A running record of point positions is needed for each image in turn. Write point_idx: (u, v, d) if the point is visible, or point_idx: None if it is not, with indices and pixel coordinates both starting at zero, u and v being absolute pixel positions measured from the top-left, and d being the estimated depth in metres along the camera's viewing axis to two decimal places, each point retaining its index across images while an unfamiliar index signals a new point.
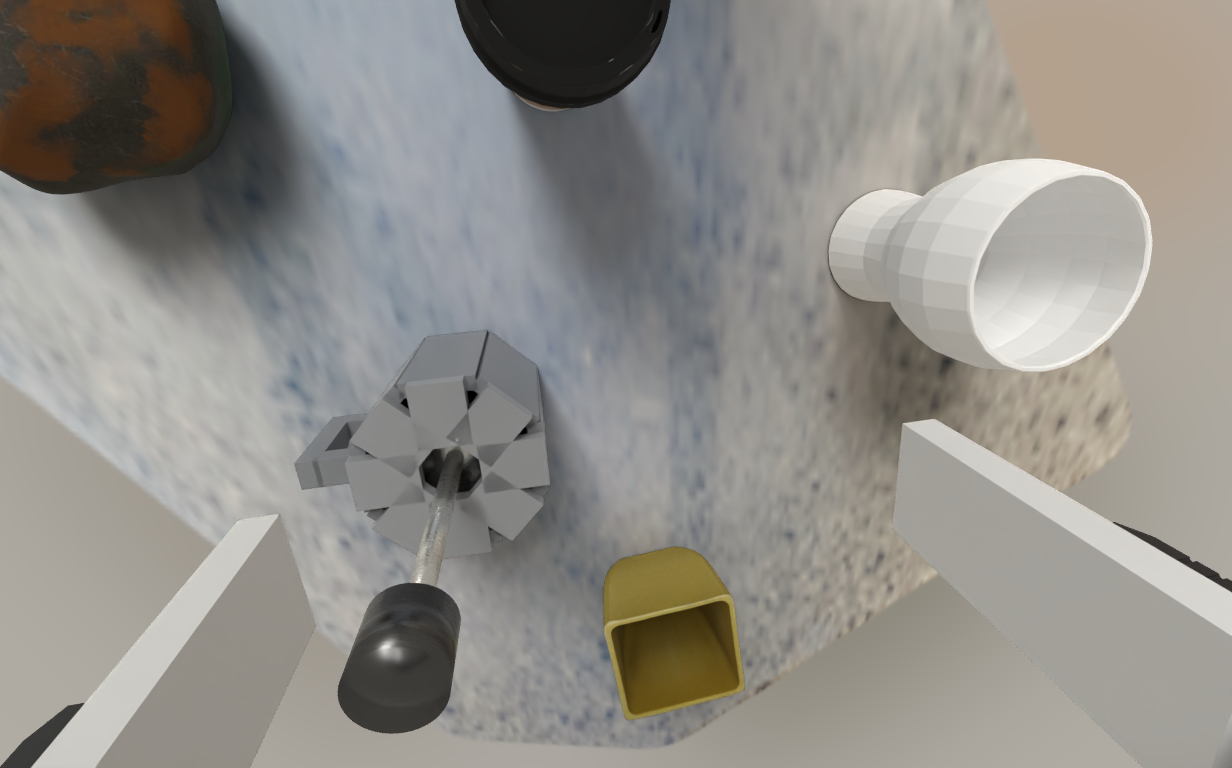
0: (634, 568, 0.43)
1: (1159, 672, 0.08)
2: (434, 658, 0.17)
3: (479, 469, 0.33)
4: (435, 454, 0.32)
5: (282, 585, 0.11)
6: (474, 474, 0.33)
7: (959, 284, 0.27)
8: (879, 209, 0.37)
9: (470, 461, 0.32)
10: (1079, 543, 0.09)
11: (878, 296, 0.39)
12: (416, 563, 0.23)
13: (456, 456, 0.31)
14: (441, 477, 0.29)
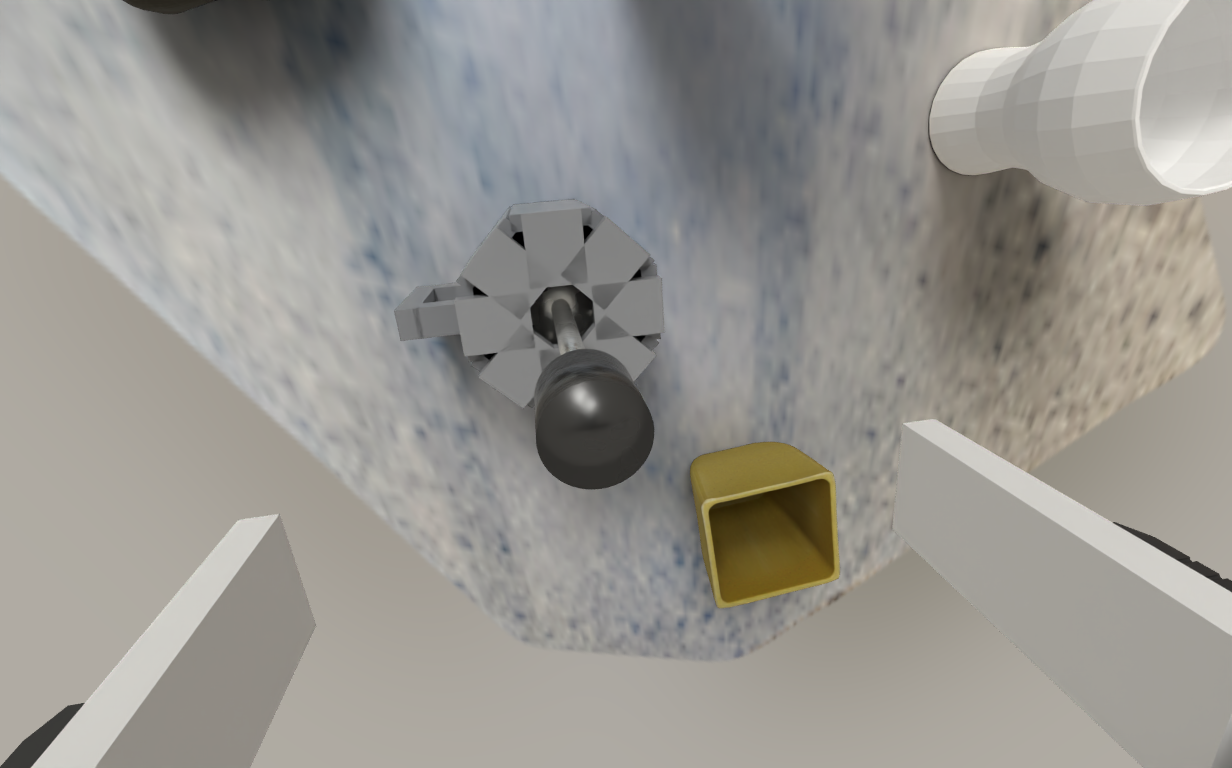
0: (720, 458, 0.42)
1: (1159, 672, 0.08)
2: (640, 397, 0.16)
3: (584, 322, 0.31)
4: (540, 304, 0.30)
5: (282, 585, 0.11)
6: (579, 328, 0.31)
7: (1123, 90, 0.25)
8: (993, 61, 0.35)
9: (576, 313, 0.31)
10: (1079, 543, 0.09)
11: (987, 160, 0.37)
12: None
13: (565, 303, 0.30)
14: (557, 314, 0.27)
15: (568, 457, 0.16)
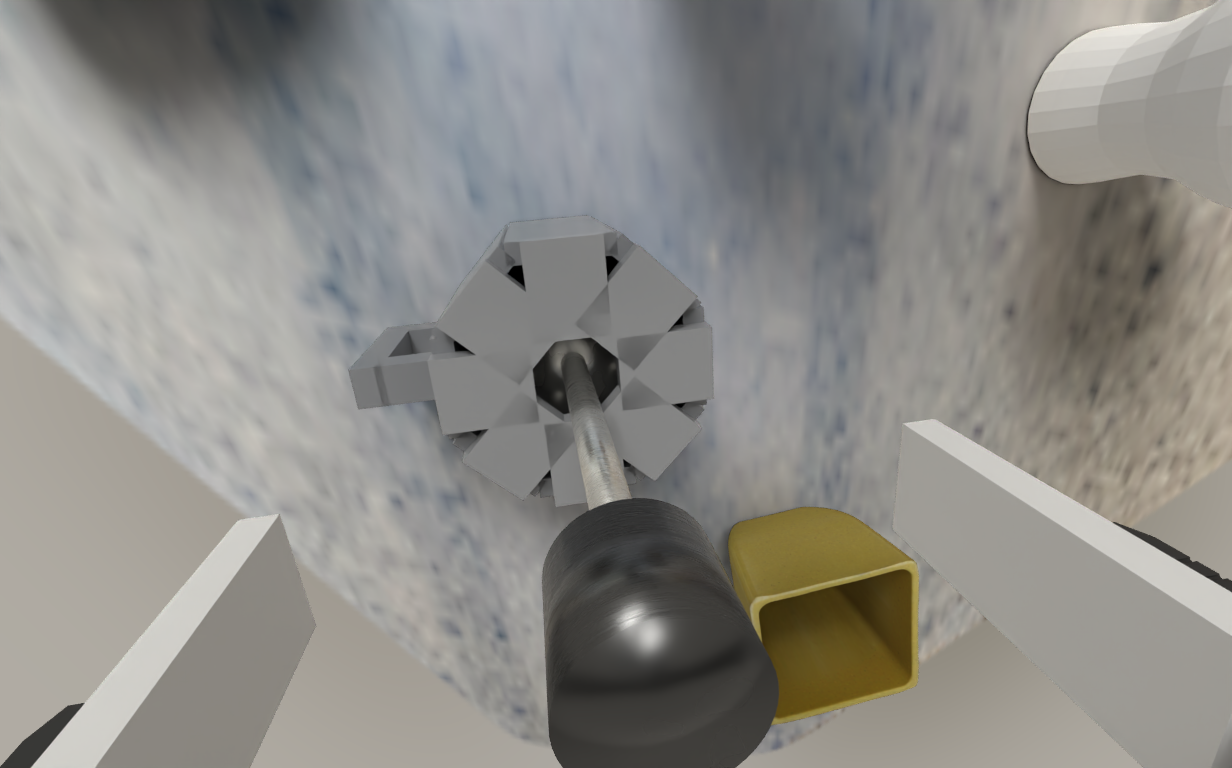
0: (765, 532, 0.34)
1: (1159, 672, 0.08)
2: (756, 640, 0.08)
3: (605, 382, 0.23)
4: (546, 359, 0.23)
5: (282, 585, 0.11)
6: (598, 389, 0.23)
7: None
8: (1122, 41, 0.28)
9: (593, 370, 0.23)
10: (1079, 543, 0.09)
11: (1108, 165, 0.29)
12: (593, 482, 0.13)
13: (579, 359, 0.22)
14: (571, 380, 0.20)
15: (611, 752, 0.08)
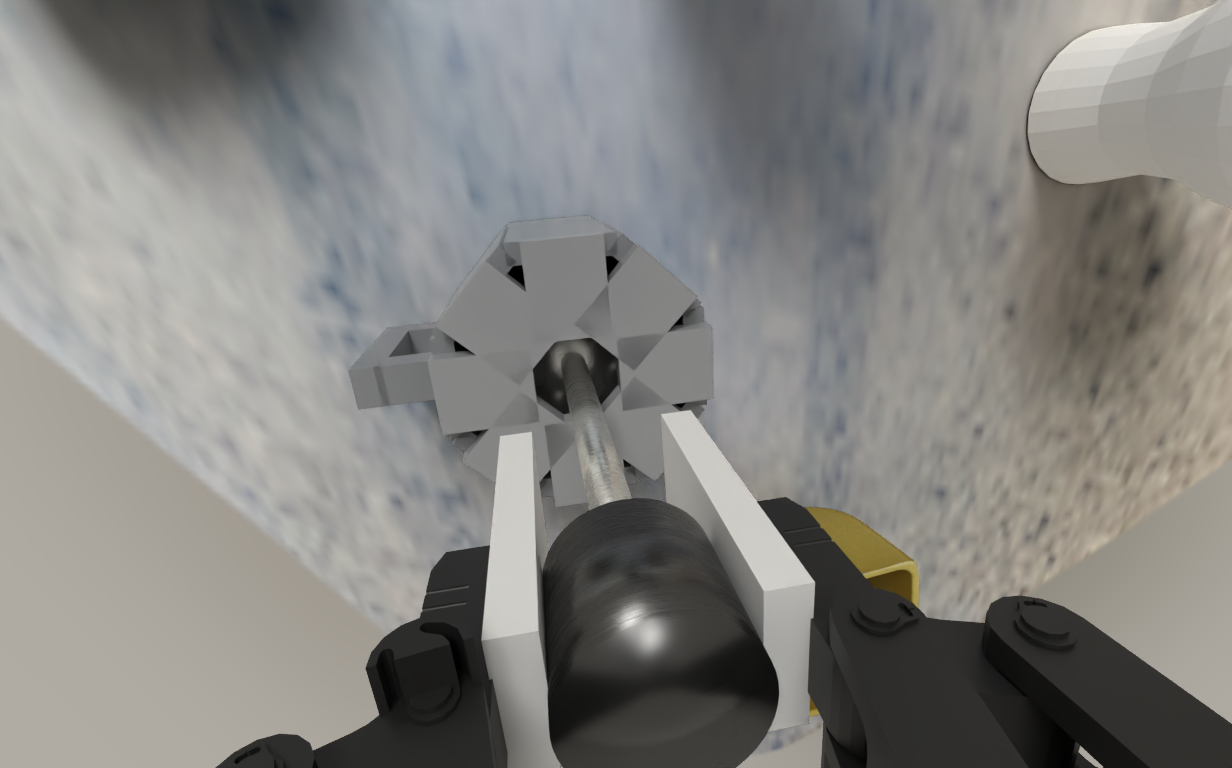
0: None
1: None
2: (756, 640, 0.08)
3: (605, 382, 0.23)
4: (546, 359, 0.23)
5: (538, 487, 0.14)
6: (598, 389, 0.23)
7: None
8: (1122, 41, 0.28)
9: (593, 370, 0.23)
10: (716, 512, 0.10)
11: (1108, 165, 0.29)
12: (593, 482, 0.13)
13: (579, 359, 0.22)
14: (571, 380, 0.20)
15: (612, 752, 0.08)
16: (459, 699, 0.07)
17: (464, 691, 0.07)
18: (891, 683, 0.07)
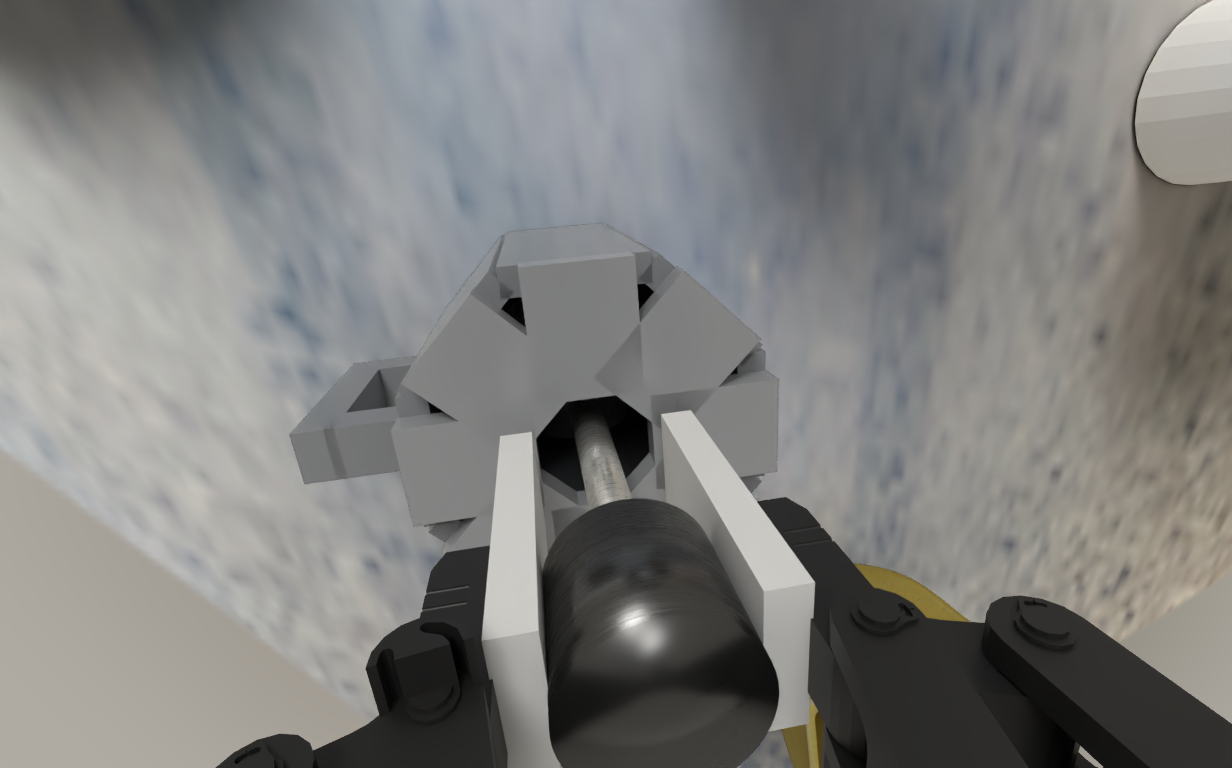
0: None
1: None
2: (756, 640, 0.08)
3: None
4: None
5: (539, 487, 0.14)
6: None
7: None
8: None
9: None
10: (716, 512, 0.10)
11: None
12: (593, 482, 0.13)
13: None
14: None
15: (612, 753, 0.08)
16: (459, 699, 0.07)
17: (464, 691, 0.07)
18: (891, 683, 0.07)
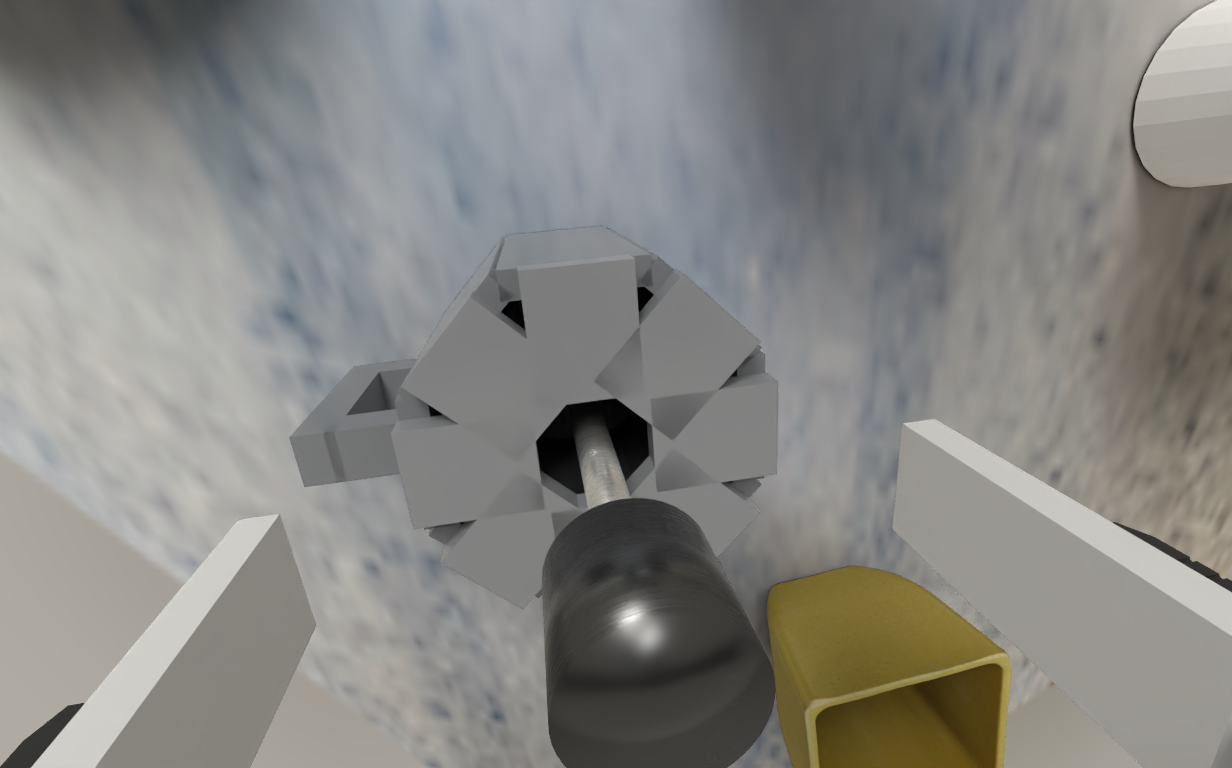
0: (812, 602, 0.28)
1: (1159, 672, 0.08)
2: (753, 637, 0.08)
3: None
4: None
5: (282, 585, 0.11)
6: None
7: None
8: None
9: None
10: (1079, 543, 0.09)
11: None
12: (593, 483, 0.13)
13: None
14: None
15: (610, 748, 0.08)
16: None
17: None
18: None
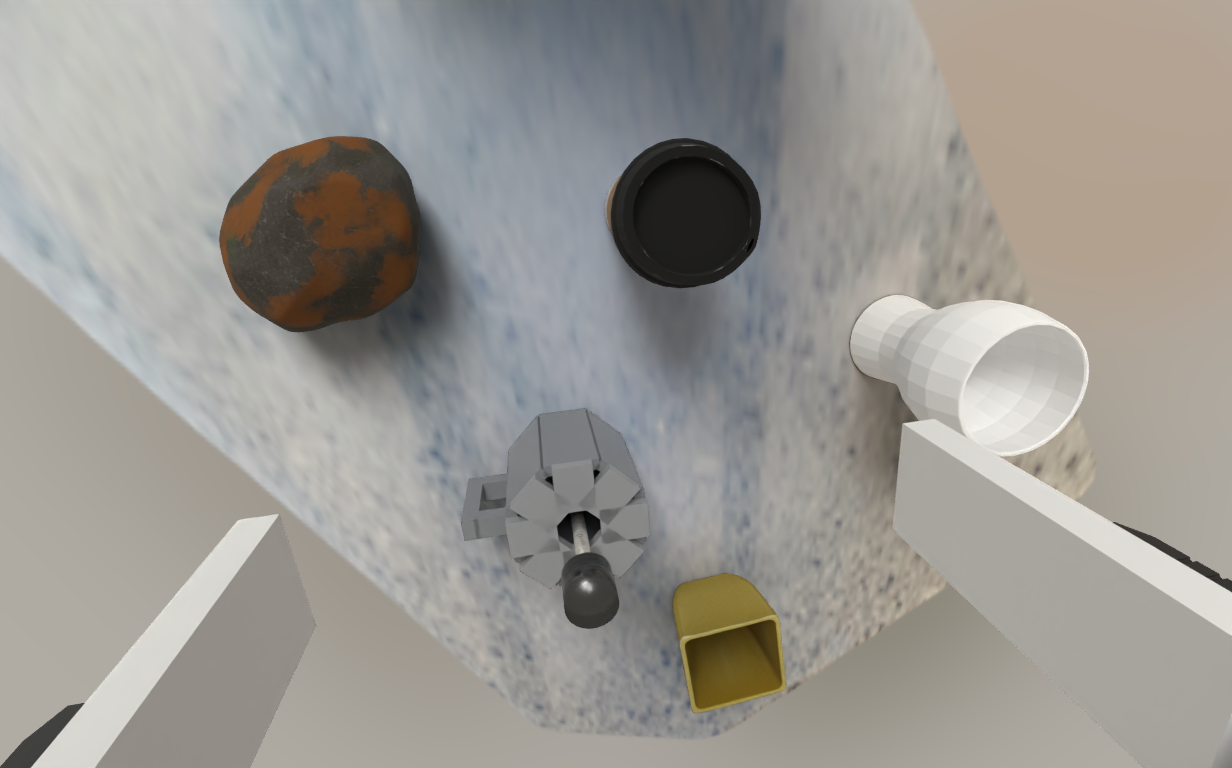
0: (696, 592, 0.54)
1: (1159, 672, 0.08)
2: (612, 588, 0.34)
3: None
4: None
5: (282, 585, 0.11)
6: None
7: (951, 397, 0.38)
8: (890, 316, 0.48)
9: None
10: (1079, 543, 0.09)
11: (890, 381, 0.50)
12: (577, 543, 0.39)
13: None
14: None
15: (579, 615, 0.34)
16: None
17: None
18: None
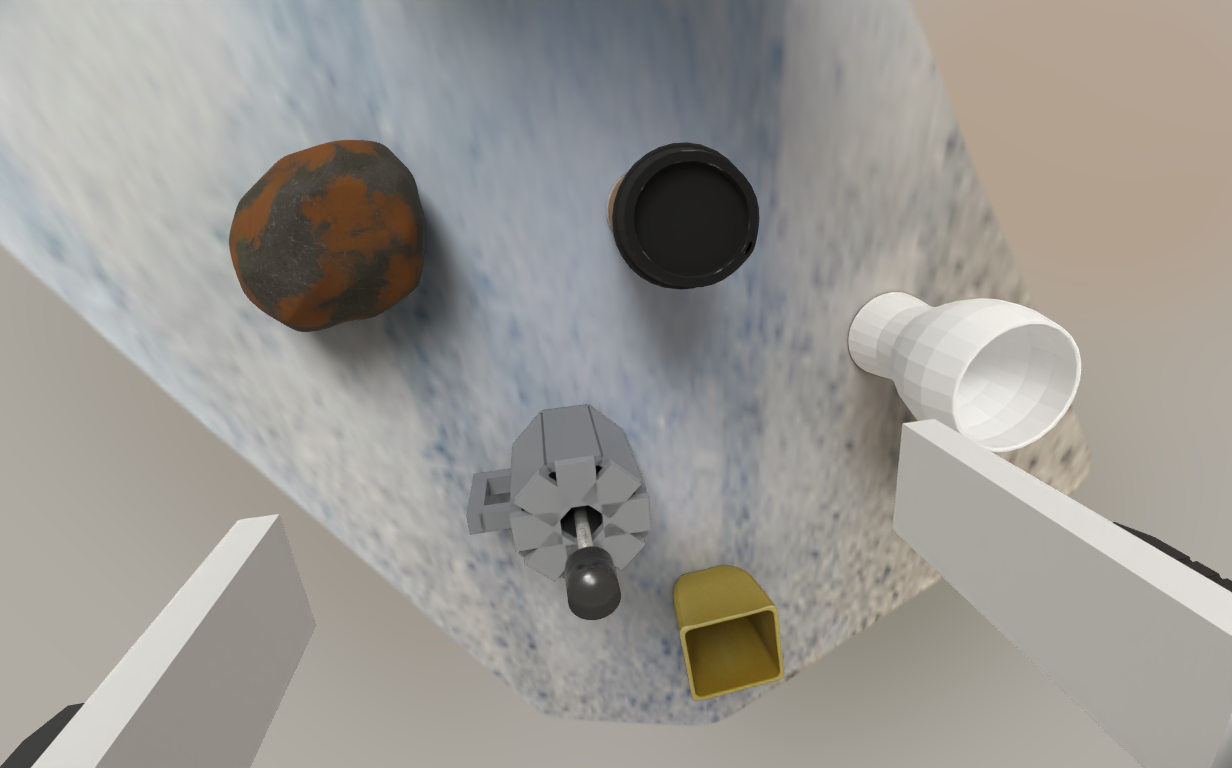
0: (696, 583, 0.55)
1: (1159, 672, 0.08)
2: (614, 581, 0.35)
3: None
4: None
5: (282, 585, 0.11)
6: None
7: (946, 395, 0.39)
8: (888, 313, 0.49)
9: None
10: (1079, 543, 0.09)
11: (887, 377, 0.51)
12: (580, 537, 0.40)
13: None
14: None
15: (582, 607, 0.35)
16: None
17: None
18: None
